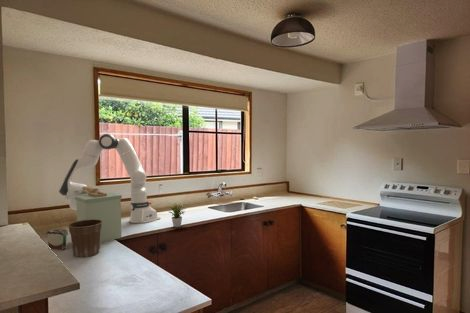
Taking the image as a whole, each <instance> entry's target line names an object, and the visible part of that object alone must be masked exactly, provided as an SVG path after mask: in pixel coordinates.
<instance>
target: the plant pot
mask: <svg viewBox="0 0 470 313" xmlns="http://www.w3.org/2000/svg"><path fill="white" fill-rule="evenodd" d="M101 224H102V220H96V219H91V220H82V221H77V220H76V221H73V222H70V223H68V224H67V228H68V232H69V234H70V239H71V246H72V253H73V256H74V257H76V258H86V257H92V256H95V255H97V254H99V253H100V249H101V248H100V247H101V246H100V244H101V242H100V231H101Z"/></svg>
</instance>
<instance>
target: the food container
mask: <svg viewBox="0 0 470 313" xmlns="http://www.w3.org/2000/svg"><path fill="white" fill-rule="evenodd" d="M68 232H69V231H68V229H66V228H53V229H49V230H46V231H45V235H46V238H47V247H48V246H49V247H50V248H51V249H52V250H53V251H64V250H66V247H67V237H68V234H69V233H68ZM51 249H50V250H51Z"/></svg>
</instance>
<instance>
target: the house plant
mask: <svg viewBox="0 0 470 313" xmlns="http://www.w3.org/2000/svg"><path fill="white" fill-rule="evenodd" d="M186 206H187V207H188V205H186ZM187 207H185V206H183V204H181V203H179V205H177V202H175V204H173V206H170V209H171V211H169V213H170V214H172V215H171V221H172V226H173V228H180V227H182V220H183V217H182V215H184V214H185V209H187Z"/></svg>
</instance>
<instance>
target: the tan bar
mask: <svg viewBox="0 0 470 313" xmlns="http://www.w3.org/2000/svg"><path fill="white" fill-rule="evenodd" d="M82 188H84V191H83V192H86V193H89V192H90V193H94V194H97V193H98V189H97V188H98V187H92V186H89V185H87V186H83V187H82Z"/></svg>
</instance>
